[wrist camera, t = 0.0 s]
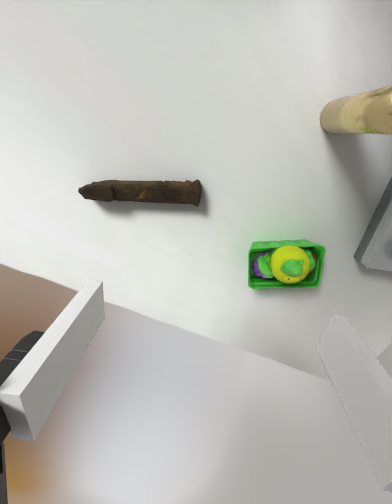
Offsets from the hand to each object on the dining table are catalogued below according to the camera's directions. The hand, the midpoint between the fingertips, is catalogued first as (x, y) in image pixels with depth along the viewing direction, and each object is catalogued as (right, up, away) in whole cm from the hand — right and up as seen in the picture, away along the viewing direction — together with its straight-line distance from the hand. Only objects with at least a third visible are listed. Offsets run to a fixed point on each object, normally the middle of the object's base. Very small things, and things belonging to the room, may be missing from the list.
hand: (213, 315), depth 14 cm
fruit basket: (+13, +4, +29) cm, 32 cm away
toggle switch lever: (+18, +22, +19) cm, 34 cm away
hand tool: (-10, +14, +26) cm, 31 cm away
